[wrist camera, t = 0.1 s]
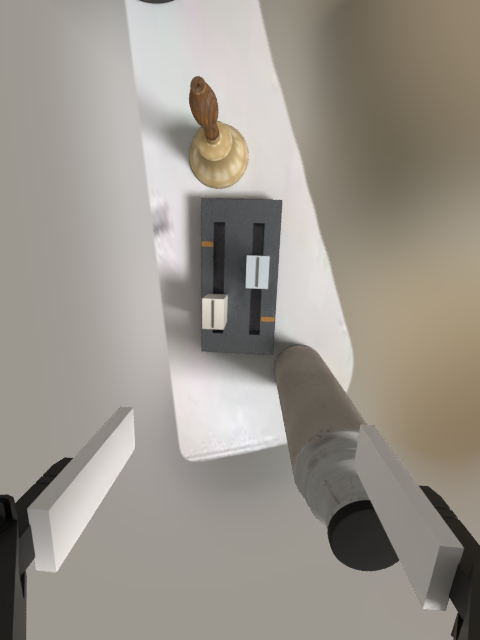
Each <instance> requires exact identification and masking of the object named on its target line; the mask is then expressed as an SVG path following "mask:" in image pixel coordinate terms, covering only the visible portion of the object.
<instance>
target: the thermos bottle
mask: <svg viewBox="0 0 480 640" xmlns="http://www.w3.org/2000/svg"><path fill="white" fill-rule="evenodd" d="M274 372H275V378H276V383H277V389H278V394H279V399H280V405H281V410H282V416H283V421H284V426H285V432H286V437H287V442H288V448H289V453H290V459H291V464H292V469H293V475H294V480H295V484H296V486H297V488H298V490H299V492H300V493H301V494H302V496H303V497H304V498H305V500H306V502H307V504H308V506H309V507H310V509H311V511H312V513H313V514H314V516H315V517H316V518H317V519H318V520H319V521H320V522H321V523H323V524H324V525H326V526H327V529H328V539H329V543H330V546H331V549H332V551H333V553H334V555H335V556H336V558H337V559H338V560H339V561H340V562H342V563H343V564H345V565H346V566H348V567H350V568H353V569H356V570H361V571H376V570H381V569H385V568H387V567H390V566H392V565H394V564H395V563H397V562H398V561H399V558H398V556H397V554H396V552H395V550H394V548H393V546H392V544H391V542H390V540H389V538H388V536H387V534H386V531H385V529H384V527H383V525H382V523H381V521H380V519H379V517H378V515H377V513H376V511H375V509H374V507H373V505H372V503H371V501H370V499H369V497H368V495H367V492H366V490H365V488H364V486H363V484H362V482H361V480H360V478H359V476H358V474H357V472H356V470H355V468H354V461H355V455H356V449H357V443H358V437H359V431H360V425H361V424H362V425H367V424H366V422H365V421H364V419H363V417H362V416H361V414H360V413H359V411H358V410H357V408H356V407H355V406H354V404H353V402H352V401H351V400H350V398H349V397H348V395H347V394H346V392H345V391H344V390H343V388H342V387H341V385H340V384H339V382H338V381H337V379H336V378H335V377H334V375H333V374H332V372H331V371H330V369H329V368H328V367H327V365H326V364H325V362H324V361H323V359H322V358H321V357H320V355H319V354H318V353H317V352H316V351H315V350H314V349H312V348H310V347H308V346H304V345H295V346H291V347H288V348H286V349H285V350H283V351H282V352H281V353H280V354H279V356H278V357H277V359H276V361H275V365H274Z"/></svg>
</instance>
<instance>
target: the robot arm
mask: <svg viewBox="0 0 480 640" xmlns="http://www.w3.org/2000/svg"><path fill="white" fill-rule="evenodd" d="M142 1H145V2H149V3H166V2H170V1H173V0H142ZM134 449H135V438H134V413H133V408H130V407H120V408H119V409H118V410H117V411H116V412H115V413H114V414H113V415H112V417H111V418H110V419H109V420H108V421H107V422H106V423H105V424H104V425H103V426H102V428H101V429H100V430H99V431H98V432H97V433H96V434H95V435H94V436H93V437H92V438H91V440H90V441H89V442H88V443H87V444H86V445H85V446H84V447H83V448H82V449H81V450H80V451H79V453H78V454H77V455H76V456H75V457H74V458H63V459H62V460H60V461H59V462H57V463H55V464H54V465H53V466H51V467H50V469H49V470H48V471H47V472H46V473H45V474H44V475H43V477H41V478H40V479H39V480H38V481H37V482H36V484H34V485H33V486H32V487H31V488H30V489H29V490H28V491H27V492H26V493H25V494H24V495H23V496H22V497H21V498H20V499H19V500H18V501H17V502H16V503H15V501H14V498H13V497H12V496H10V495H0V640H26V583H27V580H26V579H27V578H26V577H27V576H26V568H27V567H28V566H29V565H30V563H31V562H32V561H33V559H34V558H35V565H36V570H38V571H48V572H57V571H58V569H59V568H60V566H61V564H62V563H63V561H64V560H65V558H66V557H67V555H68V553H69V552H70V550H71V549H72V547H73V545H74V544H75V542H76V541H77V539H78V538H79V536H80V534H81V533H82V531H83V530H84V528H85V527H86V525H87V523H88V522H89V520H90V519H91V517H92V516H93V514H94V512H95V511H96V509H97V508H98V506H99V505H100V503H101V501H102V500H103V498H104V496H105V495H106V493H107V492H108V490H109V489H110V487H111V485H112V484H113V482H114V481H115V479H116V478H117V476H118V474H119V473H120V471H121V470H122V468H123V466H124V465H125V463H126V462H127V460H128V459H129V457H130V456H131V454H132V452H133V451H134ZM354 468H355V470H356V472H357V474H358V476H359V478H360V480H361V482H362V484H363V486H364V488H365V490H366V492H367V495H368V497H369V499H370V501H371V503H372V505H373V507H374V509H375V511H376V513H377V515H378V517H379V519H380V521H381V523H382V525H383V527H384V529H385V531H386V534H387V536H388V538H389V540H390V542H391V544H392V546H393V548H394V550H395V552H396V554H397V556H398V558H399V560H400V562H401V564H402V566H403V568H404V571H405V573H406V575H407V576H408V579H409V581H410V583H411V585H412V587H413V589H414V591H415V593H416V595H417V597H418V599H419V601H420V603H421V605H422V607H423V609H432V610H442V611H445V610H446V608H447V605H448V601H449V598H450V599H451V601H452V602H453V604H454V606H455V608H456V609H457V611H458V614H457V617H456V620H455V623H454V627H453V630H452V633H451V636H452V637H454V640H480V545H479V544H478V543H477V541H476V540H475V539H474V538H473V536H471V534H470V533H469V531H468V530H467V529H466V528H465V526H464V525H463V524H462V523H461V522H460V520H458V518H457V516H456V515H455V514H454V513H453V511H452V510H450V508H449V506H448V505H447V504H446V503H445V501H444V500H443V499H442V497H441V496H439V495H438V494H437V493H436V492H435V491H433V490H432V489H431V488H430V487H428V486H418V484H417V483H416V482H415V480H414V479H413V478H412V476H411V475H410V473H409V472H408V471H407V469H406V468H405V467H404V466H403V464H402V463H401V461H400V460H399V459H398V457H397V456H396V454H395V453H394V452H393V450H392V449H391V448H390V447H389V445H388V444H387V442H386V441H385V439H384V438H383V437H382V435H381V434H380V433H379V431H378V430H377V428H376V427H375V426H374V425H362V424H361V425H360V431H359V437H358V443H357V449H356V455H355V461H354Z"/></svg>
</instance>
